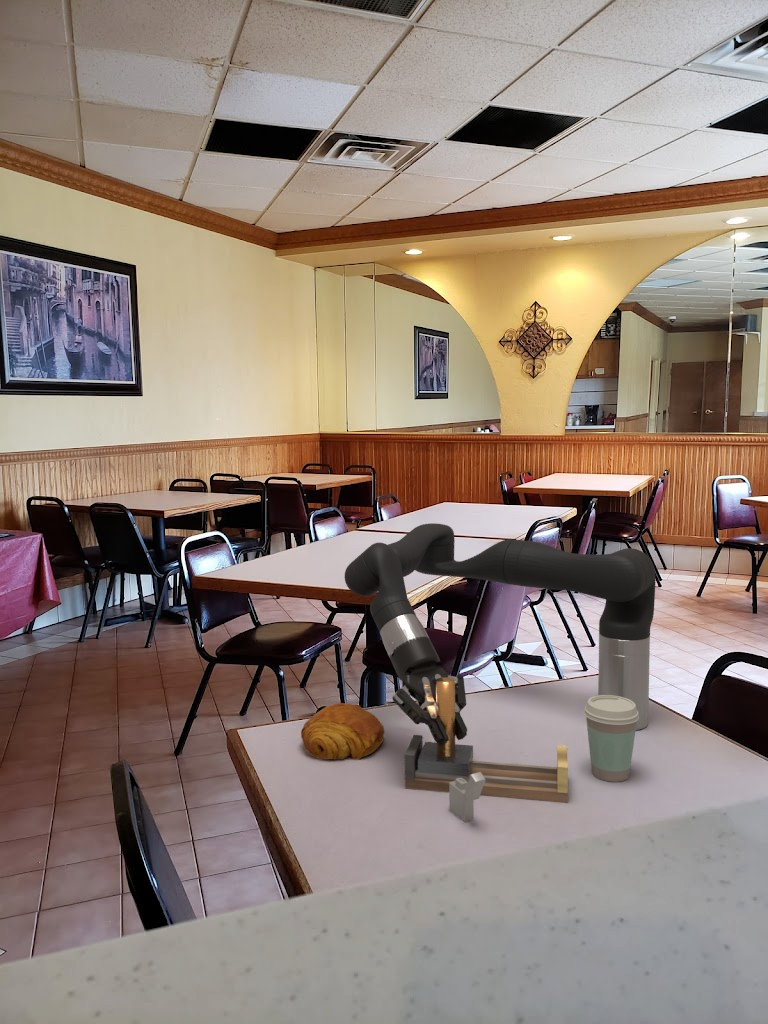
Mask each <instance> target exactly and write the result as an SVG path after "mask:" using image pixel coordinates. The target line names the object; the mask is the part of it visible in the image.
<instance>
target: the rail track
mask: <svg viewBox="0 0 768 1024" xmlns="http://www.w3.org/2000/svg"><path fill="white" fill-rule="evenodd" d="M423 746H424V744H423V735H422V734H413V735H412V736H411V740H410V742H409V743H408V747H407V749H406V750H405V754H404V788H405V789H410V790H421V791H431V792H440V793H441V792H443V793H444V792H445V793H449V783H450V782H452V781H455V779H456V778H463V779H464V780H465V781H467V782H469V779H470V776H471V775H472V774H474V773H478V772H481V773H482V775H483V776H484V778H485V779H486V780H485V783H484V786H483V789H482V791H481V794H480V796H487V797H498V798H512V799H524V800H533V801H547V802H557V803H567V804H568V801H569V800H568V797H569V796H568V795H569V794H568V793H569V789H568V788H569V786H568V785H569V783H568V782H569V763H568V746H567V745H559V744H557V747H556V766H546V765H536V764H533V765H532V764H521V763H520V764H519V763H507V762H498V761H497V762H495V761H483V760H472V764H471V769H470V773H469V776H457V775H445V774H433V773H421V772H418V758H419V756H420V753H421V751H422V748H423Z"/></svg>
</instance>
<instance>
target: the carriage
mask: <svg viewBox="0 0 768 1024" xmlns="http://www.w3.org/2000/svg"><path fill="white" fill-rule="evenodd" d="M435 706H436V708H435V711H436V714H437V717H436V718H437V719H438V718H440V721H441V723H442V725H443V727H444V729H445V731H446V733H447V735H448V738H449V740H448V742H447V743H446V744H444V745H441V746H440V745H439V743H437V742H431V741H430V742H429V741H424V744H423V748H422V751H421V753H420V756H419V758H418V772H421V773H433V774H445V775H457V776H469V773H470V769H471V764H472V761H474V745H472V744H471V745H469V744H457V743H456V735H455V680H454V679H452V678H448V677H443V678H438V679H436V703H435Z"/></svg>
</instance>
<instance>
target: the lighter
mask: <svg viewBox="0 0 768 1024" xmlns="http://www.w3.org/2000/svg"><path fill="white" fill-rule="evenodd" d="M485 780H486V779H485V778H484V776H483V775H482V773H481V772H478V773H474V774H472V775H471V776H470V779H469V782H467V781H465V780H464V779H463V778H456V779H455V781H452V782H450V783H449V792H448V793H449V794H448V795H449V811H450V812H451V813H452V814H453V815H455V816H456V818H458V819H459V820H461V821H462V822H463V823H467V822H470V821H473V820H475V817H474V816H475V815H474V813H475V812H474V811H475V810H474V807H475V805H474V804H475V802H474V801H475V800H478V799H480V797H481V795H480V794H481V791H482V789H483V786H484V783H485Z"/></svg>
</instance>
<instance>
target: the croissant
mask: <svg viewBox="0 0 768 1024" xmlns="http://www.w3.org/2000/svg"><path fill="white" fill-rule="evenodd" d="M384 734H385V729H384V725H383V723H382V722H381V721H380V720H379V719H378V717H377V716H376V715H375V714H374V713H371V712H370V711H368V710H365V709H364V708H363V707H361V705H359V704H352V703H346V702H345V703H344V702H338V703H333V704H330V705H327V706H325V707H323V708H322V709H321V710H319V711H317V712H316V713H314V714H313V715H312V716H311V717H310V718H308V720H307V721H306V722H304V724H303V726H302V728H301V731H300V737H301V740H302V742H303V746H304V749H305V750H306V752H308V753H309V755H311V756H312V757H314V758H316V759H318V760H319V759H320V760H338V759H339V760H345V759H350V760H361V759H362V758H363V757H365V756H366V757H367V756H369V755H371V754H372V753H374V752H375V751H376V750H377V749H378V748H379V746H380V745H381V744H382V743H383V741H384V739H385V736H384Z"/></svg>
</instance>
